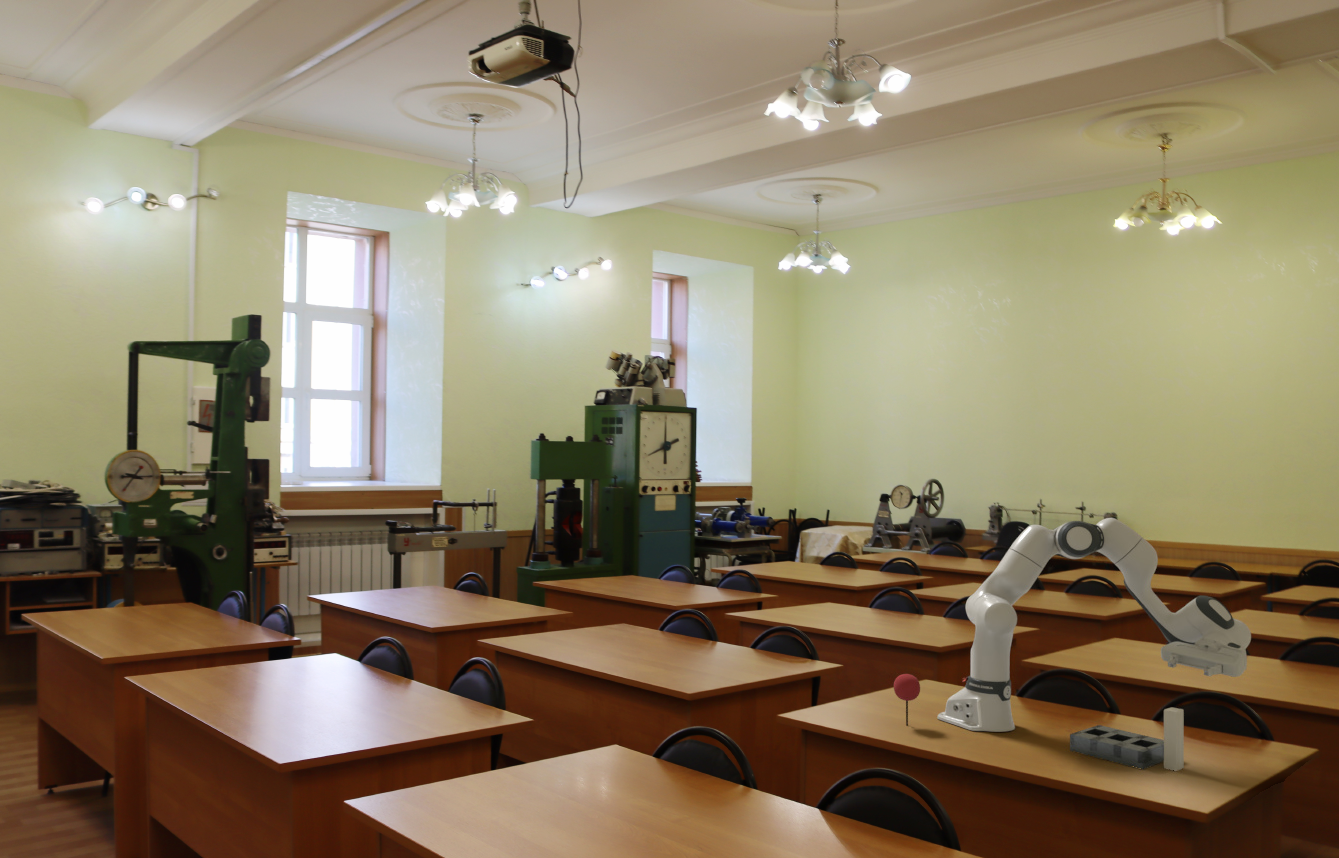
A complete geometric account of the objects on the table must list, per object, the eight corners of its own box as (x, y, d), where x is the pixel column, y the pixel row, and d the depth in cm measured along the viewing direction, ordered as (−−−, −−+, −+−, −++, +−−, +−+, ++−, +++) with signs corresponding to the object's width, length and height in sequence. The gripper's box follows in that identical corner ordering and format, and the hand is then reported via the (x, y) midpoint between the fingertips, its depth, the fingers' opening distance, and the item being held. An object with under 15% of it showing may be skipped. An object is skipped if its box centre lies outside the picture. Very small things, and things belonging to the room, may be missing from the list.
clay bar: (1176, 771, 242) (1175, 712, 243) (1163, 768, 245) (1163, 709, 245) (1183, 767, 245) (1183, 709, 246) (1171, 764, 247) (1171, 707, 248)
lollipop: (917, 722, 285) (918, 671, 285) (921, 729, 277) (922, 677, 278) (891, 721, 285) (892, 670, 286) (895, 728, 278) (895, 676, 278)
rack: (1142, 769, 243) (1142, 751, 243) (1069, 750, 258) (1070, 734, 259) (1170, 758, 253) (1170, 741, 253) (1098, 740, 268) (1098, 724, 269)
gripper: (1173, 632, 268) (1148, 648, 261) (1251, 648, 252) (1227, 666, 244) (1175, 653, 269) (1150, 670, 262) (1253, 671, 253) (1228, 689, 245)
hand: (1188, 668), depth 253 cm, fingers open, 8 cm apart
